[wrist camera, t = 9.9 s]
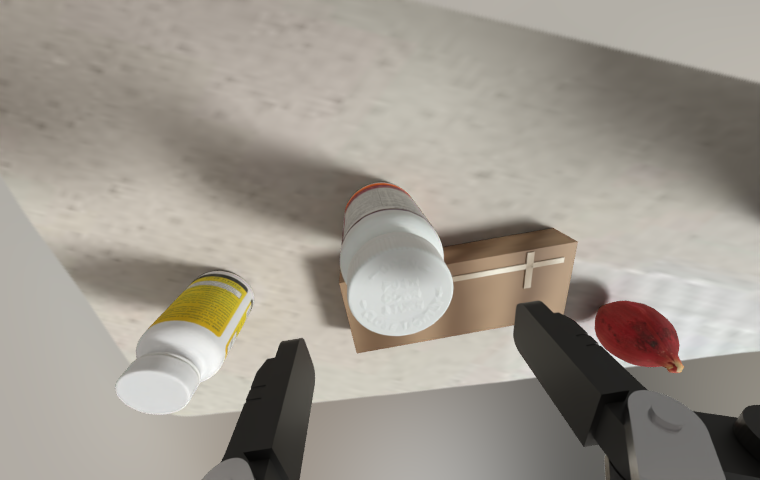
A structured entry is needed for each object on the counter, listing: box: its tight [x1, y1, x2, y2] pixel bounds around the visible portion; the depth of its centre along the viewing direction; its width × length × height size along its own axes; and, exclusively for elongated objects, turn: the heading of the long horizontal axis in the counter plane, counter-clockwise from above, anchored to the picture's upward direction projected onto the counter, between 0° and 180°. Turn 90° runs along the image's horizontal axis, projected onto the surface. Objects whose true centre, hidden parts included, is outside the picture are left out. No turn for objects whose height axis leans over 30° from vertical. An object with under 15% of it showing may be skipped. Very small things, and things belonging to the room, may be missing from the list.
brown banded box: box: [339, 228, 578, 353], centre depth 25 cm, size 20×8×3 cm, turn 98°
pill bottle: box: [340, 182, 453, 336], centre depth 18 cm, size 6×6×11 cm
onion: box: [595, 301, 684, 373], centre depth 26 cm, size 6×6×8 cm
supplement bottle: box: [115, 271, 254, 415], centre depth 20 cm, size 5×5×10 cm
